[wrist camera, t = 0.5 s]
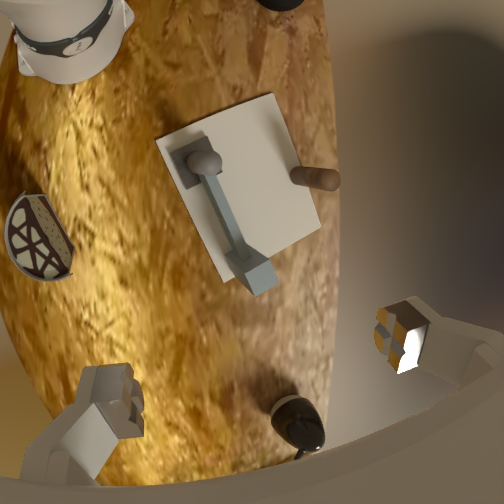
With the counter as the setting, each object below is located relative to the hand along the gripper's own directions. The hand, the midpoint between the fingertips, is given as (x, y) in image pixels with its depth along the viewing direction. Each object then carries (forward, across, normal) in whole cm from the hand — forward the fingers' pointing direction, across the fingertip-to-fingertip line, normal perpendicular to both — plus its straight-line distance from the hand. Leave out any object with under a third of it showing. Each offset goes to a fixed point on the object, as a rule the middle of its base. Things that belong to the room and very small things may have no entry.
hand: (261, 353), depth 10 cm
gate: (+40, -3, +8) cm, 41 cm away
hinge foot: (+41, 0, -1) cm, 41 cm away
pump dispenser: (+38, -10, +53) cm, 67 cm away
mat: (+42, -8, +4) cm, 43 cm away
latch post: (+43, -17, +4) cm, 47 cm away
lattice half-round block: (+36, +24, +4) cm, 44 cm away
